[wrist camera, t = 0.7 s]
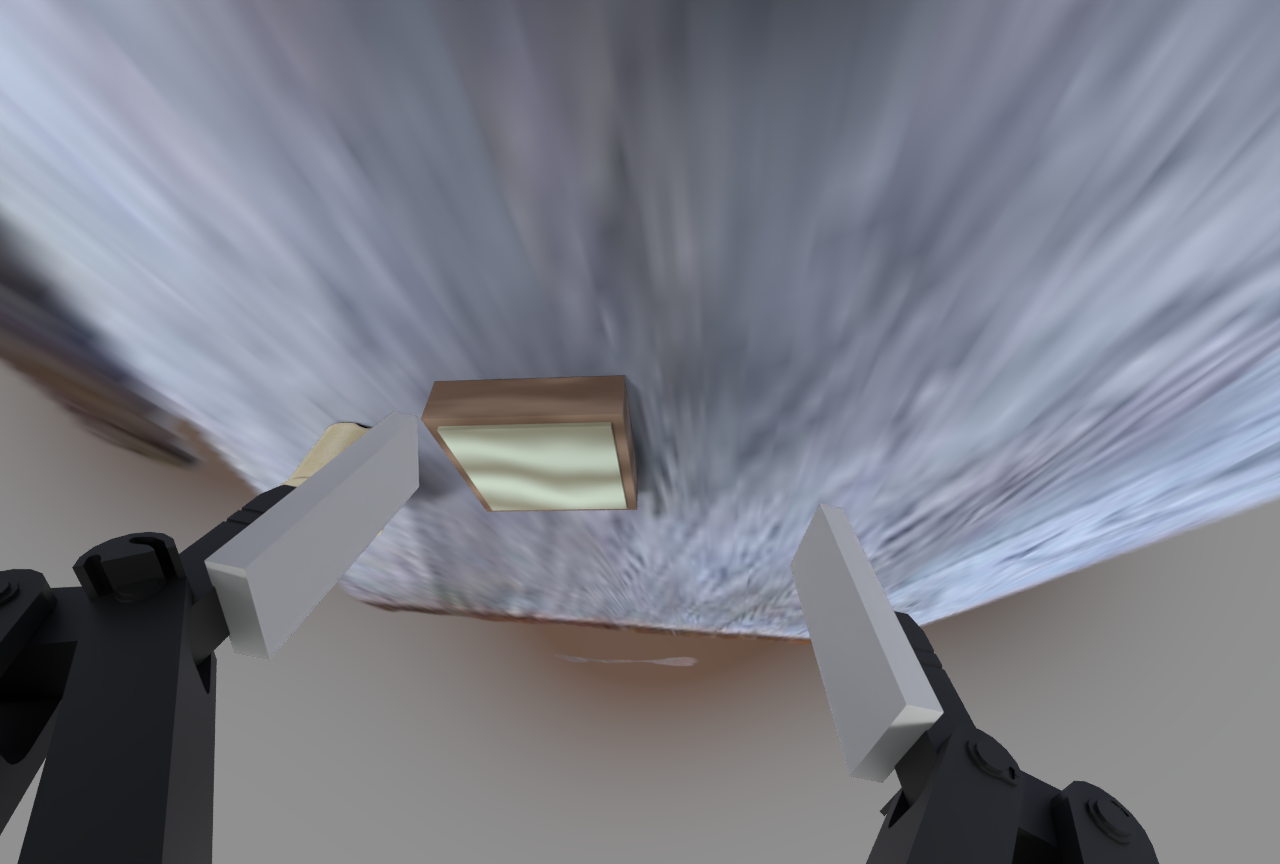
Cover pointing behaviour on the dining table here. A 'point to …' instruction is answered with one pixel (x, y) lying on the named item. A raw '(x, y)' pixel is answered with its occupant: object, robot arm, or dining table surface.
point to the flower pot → (327, 451)
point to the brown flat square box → (539, 441)
